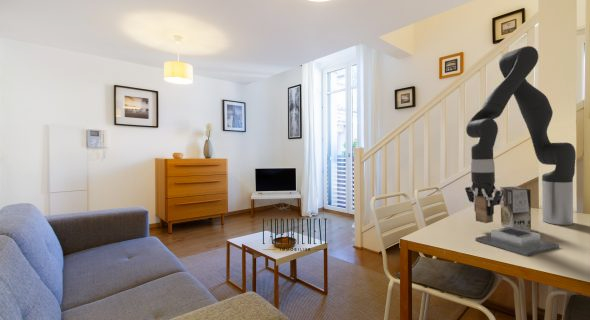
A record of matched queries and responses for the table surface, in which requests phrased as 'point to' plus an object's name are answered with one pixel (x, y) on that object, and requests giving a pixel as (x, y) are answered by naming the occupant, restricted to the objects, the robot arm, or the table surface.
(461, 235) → the table surface
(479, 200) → the brown rectangular block
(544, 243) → the stepped grey base plate
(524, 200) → the coffee box
